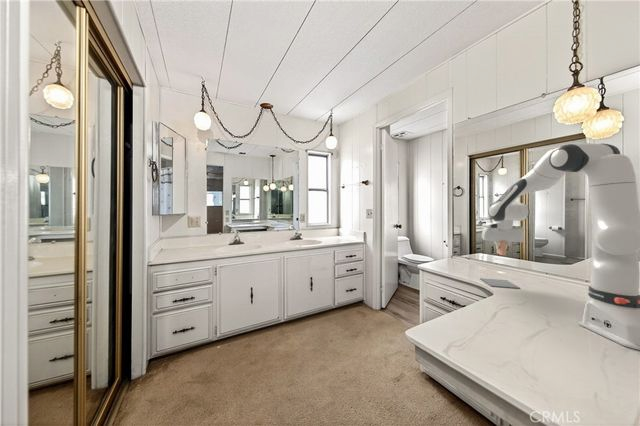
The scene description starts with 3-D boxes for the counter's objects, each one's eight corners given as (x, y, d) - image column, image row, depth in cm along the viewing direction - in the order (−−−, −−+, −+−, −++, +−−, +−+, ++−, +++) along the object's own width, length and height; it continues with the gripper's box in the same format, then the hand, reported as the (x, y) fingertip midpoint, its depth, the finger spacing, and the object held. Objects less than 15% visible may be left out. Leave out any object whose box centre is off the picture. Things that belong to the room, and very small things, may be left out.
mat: (520, 288, 129) (520, 287, 129) (490, 286, 132) (490, 285, 132) (506, 281, 142) (506, 280, 142) (480, 279, 146) (480, 278, 146)
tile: (505, 255, 135) (506, 241, 135) (501, 255, 135) (502, 241, 135) (500, 253, 141) (501, 239, 141) (496, 253, 141) (497, 239, 141)
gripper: (520, 225, 138) (519, 249, 139) (481, 223, 143) (479, 246, 143) (527, 226, 132) (525, 251, 133) (485, 224, 137) (484, 248, 137)
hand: (501, 248), depth 138 cm, fingers closed on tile, 2 cm apart
